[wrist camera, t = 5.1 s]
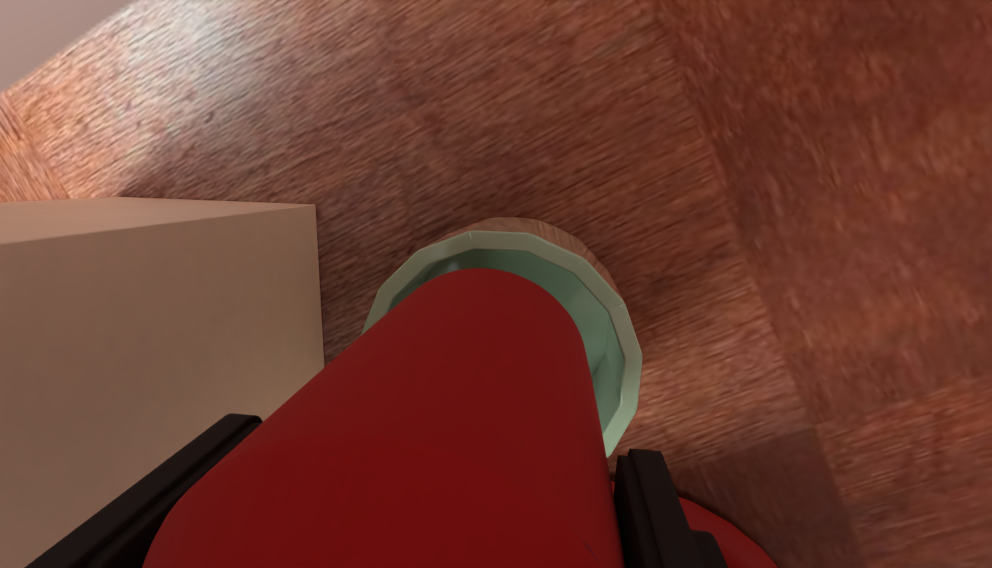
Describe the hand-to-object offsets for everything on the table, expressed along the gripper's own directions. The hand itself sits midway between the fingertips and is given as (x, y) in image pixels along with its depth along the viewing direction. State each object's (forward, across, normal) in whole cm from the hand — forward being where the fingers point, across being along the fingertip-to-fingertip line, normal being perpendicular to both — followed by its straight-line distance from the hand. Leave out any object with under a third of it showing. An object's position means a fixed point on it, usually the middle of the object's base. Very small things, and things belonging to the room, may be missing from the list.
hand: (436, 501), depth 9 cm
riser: (+13, +14, 0) cm, 19 cm away
